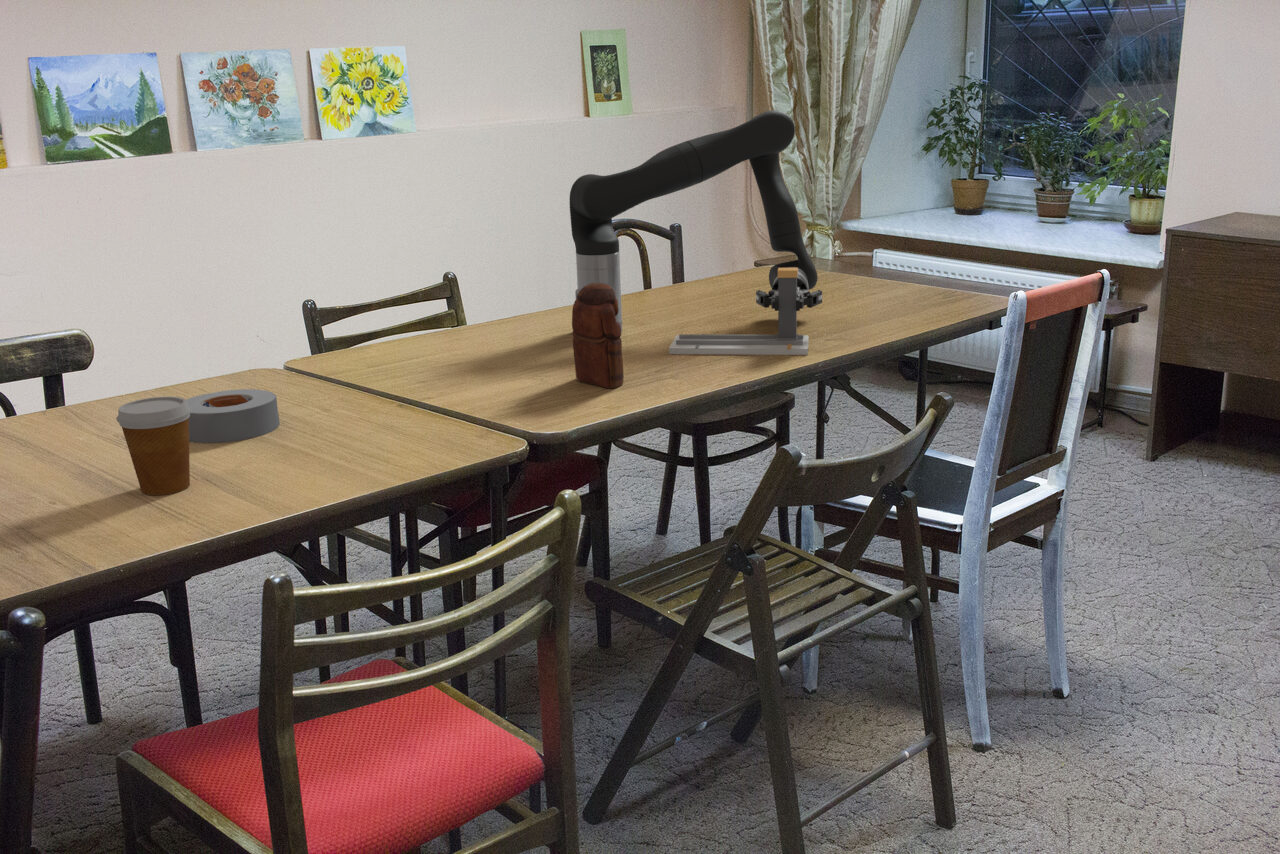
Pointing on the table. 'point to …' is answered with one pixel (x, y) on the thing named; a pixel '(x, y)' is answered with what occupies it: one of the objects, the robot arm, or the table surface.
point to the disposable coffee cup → (158, 442)
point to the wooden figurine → (597, 336)
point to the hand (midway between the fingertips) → (787, 305)
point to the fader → (787, 304)
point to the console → (738, 345)
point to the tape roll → (232, 415)
